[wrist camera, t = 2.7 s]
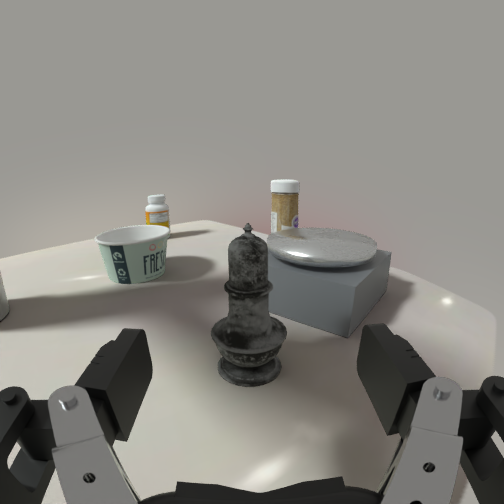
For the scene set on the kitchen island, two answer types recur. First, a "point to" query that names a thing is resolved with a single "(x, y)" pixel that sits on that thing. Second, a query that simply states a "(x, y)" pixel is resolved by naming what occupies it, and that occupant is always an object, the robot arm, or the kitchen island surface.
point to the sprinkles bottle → (284, 204)
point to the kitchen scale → (327, 292)
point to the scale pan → (322, 247)
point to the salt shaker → (248, 317)
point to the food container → (134, 252)
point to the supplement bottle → (157, 211)
